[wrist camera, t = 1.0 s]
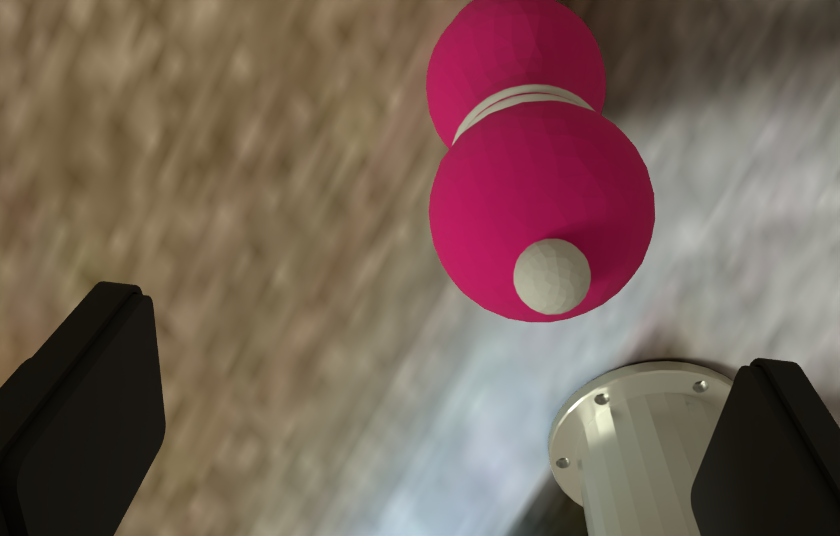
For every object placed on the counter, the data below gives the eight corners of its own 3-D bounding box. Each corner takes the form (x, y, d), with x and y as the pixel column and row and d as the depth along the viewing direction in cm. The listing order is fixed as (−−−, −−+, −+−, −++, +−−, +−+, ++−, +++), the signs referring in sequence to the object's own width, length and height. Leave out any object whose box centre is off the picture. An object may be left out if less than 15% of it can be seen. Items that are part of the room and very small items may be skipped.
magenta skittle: (552, -57, 31) (663, 80, 13) (611, 93, 34) (763, 358, 17) (402, 23, 33) (333, 231, 15) (471, 157, 36) (478, 454, 19)
